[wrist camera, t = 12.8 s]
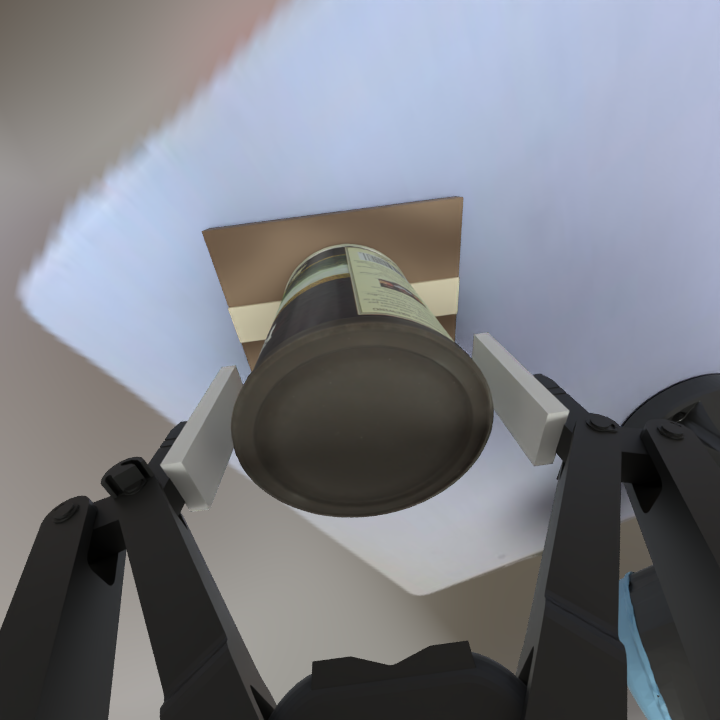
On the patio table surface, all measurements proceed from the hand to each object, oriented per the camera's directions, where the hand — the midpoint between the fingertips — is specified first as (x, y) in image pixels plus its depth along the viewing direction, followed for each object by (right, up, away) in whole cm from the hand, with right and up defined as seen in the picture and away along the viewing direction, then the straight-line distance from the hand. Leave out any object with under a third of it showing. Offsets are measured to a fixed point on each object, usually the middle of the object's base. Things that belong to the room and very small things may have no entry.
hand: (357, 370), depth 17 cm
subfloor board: (-1, +4, +9) cm, 10 cm away
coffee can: (-1, +5, +7) cm, 9 cm away
